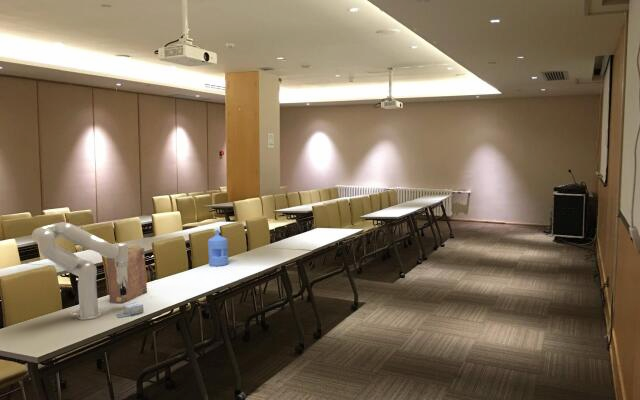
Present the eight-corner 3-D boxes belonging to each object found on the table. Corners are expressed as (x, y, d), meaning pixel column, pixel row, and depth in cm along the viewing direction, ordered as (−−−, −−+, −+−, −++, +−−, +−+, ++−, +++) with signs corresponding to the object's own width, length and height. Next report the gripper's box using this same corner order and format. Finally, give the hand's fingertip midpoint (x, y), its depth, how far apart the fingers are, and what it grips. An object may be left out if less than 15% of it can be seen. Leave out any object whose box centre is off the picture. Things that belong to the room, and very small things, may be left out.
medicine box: (135, 302, 302) (143, 304, 296) (135, 309, 302) (144, 312, 297) (122, 305, 296) (130, 307, 290) (123, 313, 296) (131, 315, 291)
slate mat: (118, 318, 288) (118, 317, 288) (115, 314, 294) (115, 314, 294) (140, 314, 294) (140, 313, 294) (137, 310, 301) (137, 310, 301)
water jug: (205, 264, 424) (203, 230, 421) (221, 261, 434) (220, 228, 432) (215, 267, 412) (213, 232, 410) (232, 264, 423) (230, 230, 420)
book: (135, 292, 344) (132, 247, 341) (147, 292, 341) (144, 247, 339) (109, 302, 320) (106, 254, 317) (122, 303, 317) (119, 255, 315)
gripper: (112, 262, 309) (114, 293, 311) (117, 267, 297) (118, 298, 298) (125, 261, 313) (127, 291, 315) (131, 265, 300) (132, 296, 302)
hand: (123, 294), depth 306 cm, fingers closed
